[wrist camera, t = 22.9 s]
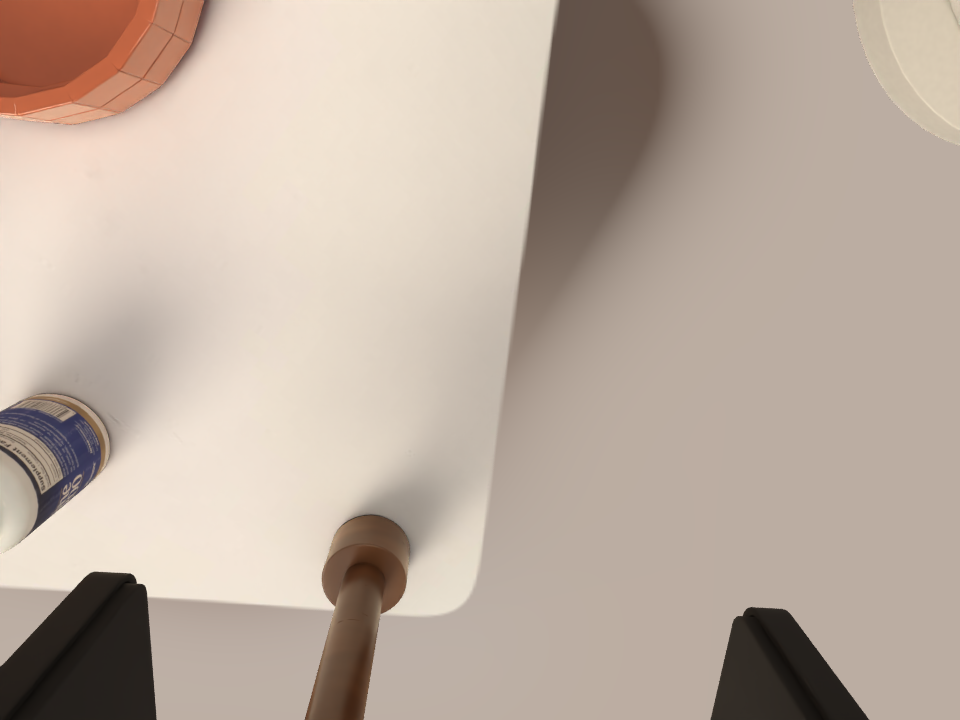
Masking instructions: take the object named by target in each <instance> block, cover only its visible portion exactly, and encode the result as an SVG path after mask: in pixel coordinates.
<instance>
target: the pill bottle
mask: <svg viewBox="0 0 960 720" xmlns="http://www.w3.org/2000/svg"><path fill="white" fill-rule="evenodd" d="M109 452H110V445H109V438H108V434H107V431H106V429H105V427H104V425H103V423H102V422H101V420H100V419H99V417H98V416H97V415H96V414H95V413H94V412H93V411H92V410H91V409H89V408H88V407H87V406H86V405H84V404H82V403H81V402H79V401H77V400H75V399H73V398H70V397H67V396H62V395H57V394H40V395H35V396H32V397H29V398H27V399H24V400H22V401H19V402H17V403H16V404H14V405H12V406H10V407H8V408H6V409H4V410H2V411H0V554H2V553H4V552H6V551H8V550H9V549H11V548H12V547H14V546H15V545H17V544H18V543H20V542H21V541H22V540H23V539H25V538H26V537H27V536H28V535H29V534H30V533H32V532H33V531H34V530H35V529H36V528H37V527H39V526H40V525H41V524H42V523H43V522H44V521H46V520H47V519H48V518H49V517H51V516H52V515H53V514H54V513H55V512H56V511H58V510H59V509H60V508H61V507H63V506H64V505H65V504H66V503H67V502H68V501H70V500H71V499H72V498H73V497H74V496H76V495H77V494H78V493H79V492H80V491H81V490H83V489H84V488H85V487H86V486H87V485H88V484H89V483H90V482H91V481H93V480H94V479H95V478H96V477H97V476H98V475H99V474H100V473H101V471H102V470H103V468H104V467H105V465H106V464H107V461H108V458H109Z"/></svg>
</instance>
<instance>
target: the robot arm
mask: <svg viewBox="0 0 960 720" xmlns="http://www.w3.org/2000/svg"><path fill="white" fill-rule="evenodd" d="M950 3H951V7H952V10H953V12H954V14H955V16H956V19H957V21H958V23H959V25H960V0H950ZM0 720H156V706H155V693H154V680H153V668H152V654H151V641H150V627H149V614H148V601H147V591H146V587H145V586H144V585H143V584H137V582H136V579H135V577H134V575H132V574H128V573H110V572H92V573H90V574H88V575H87V576H86V577H85V578H84V579H83V580H82V581H81V582H80V583H79V584H78V585H77V586H76V587H75V589H74V590H73V591H72V592H71V593H70V594H69V595H68V596H67V597H66V598H65V599H64V600H63V601H62V602H61V603H60V605H59V606H58V607H57V608H56V609H55V610H54V611H53V612H52V613H51V614H50V615H49V616H48V617H47V618H46V620H44V622H43V623H42V624H41V625H40V626H39V627H38V628H37V629H36V630H35V631H34V632H33V633H32V634H31V635H30V637H29V638H28V639H27V640H26V641H25V642H24V643H23V644H22V645H21V646H20V647H19V648H18V649H17V650H16V651H15V652H14V653H13V655H12V656H11V657H10V658H9V659H8V660H7V661H6V662H5V663H4V664H3V665H2V666H1V667H0ZM711 720H869V719H868V718H867V716H866V715H865V714H864V712H863V711H862V710H861V708H860V707H859V706H858V704H857V703H856V702H855V700H854V699H853V697H852V696H851V695H850V693H849V692H848V691H847V689H846V688H845V687H844V685H843V684H842V683H841V681H840V680H839V679H838V677H837V676H836V675H835V674H834V672H833V671H832V669H831V668H830V667H829V665H828V664H827V662H826V661H825V660H824V658H823V657H822V656H821V654H820V653H819V652H818V650H817V649H816V648H815V647H814V645H813V644H812V642H811V641H810V640H809V638H808V637H807V636H806V634H805V633H804V632H803V630H802V629H801V627H800V626H799V625H798V623H797V622H796V621H795V620H794V618H793V617H792V615H791V614H790V613H789V612H788V611H786V610H783V609H773V608H755V607H750V608H747V609H746V611H745V612H744V614H743V616H738V617H736V618H735V619H734V621H733V624H732V629H731V633H730V637H729V642H728V646H727V650H726V655H725V659H724V664H723V668H722V672H721V677H720V681H719V686H718V690H717V694H716V699H715V703H714V707H713V712H712V717H711Z"/></svg>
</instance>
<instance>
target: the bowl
mask: <svg viewBox="0 0 960 720" xmlns="http://www.w3.org/2000/svg"><path fill="white" fill-rule="evenodd" d="M203 3H204V0H0V117H5V118H12V119H18V120H26V121H37V122H47V123H57V124H68V125H72V124H79V123H83V122H87V121H91V120H95V119H100V118H104V117H108V116H112V115H116V114H119V113H121V112H124V111H125V110H127V109H128V108H130V107H131V106H133V105H134V104H136V103H137V102H139V101H140V100H142V99H143V98H145V97H146V96H148V95H149V94H151V93H152V92H153V91H155V90H156V89H158V88H159V87H161V85H163V84H164V82H165V81H166V80H167V78H168V77H169V75H170V74H171V73H172V71H173V70H174V68H175V67H176V66H177V64H178V63H179V61H180V60H181V59H182V57H183V56H184V54H185V53H186V51H187V50H188V49H189V47H190V46H191V44H190V43H192V41H193V38H194V35H195V31H196V28H197V24H198V21H199V17H200V14H201V10H202V7H203Z"/></svg>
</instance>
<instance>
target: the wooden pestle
mask: <svg viewBox="0 0 960 720" xmlns="http://www.w3.org/2000/svg"><path fill="white" fill-rule="evenodd" d="M409 555H410V547H409V542H408V539H407V536H406V535H405V533H404V532H403V530H402V529H401V528H400V527H399V526H398V525H397V524H395V523H394V522H393V521H391V520H389V519H387V518H384V517H380V516H375V515H366V516H360V517H356V518H354V519H352V520H350V521H348V522H346V523H345V524H344V525H342V526H341V527H340V528H339V530H338V531H337V532H336V534H335V536H334V538H333V541H332V544H331V547H330V550H329V554H328V557H327V560H326V563H325V566H324V569H323V572H322V586H323V589H324V592H325V594H326V596H327V598H328V599H329V601H330V602H331V603H332V604H333V605H334V606H335V610H334V613H333V617H332V621H331V624H330V628H329V632H328V636H327V640H326V643H325V647H324V651H323V654H322V658H321V662H320V665H319V669H318V673H317V676H316V680H315V684H314V688H313V692H312V695H311V699H310V702H309V706H308V710H307V713H306V717H305V720H363V719H364V713H365V706H366V700H367V694H368V688H369V682H370V675H371V669H372V663H373V656H374V650H375V644H376V637H377V632H378V625H379V619H380V614H382V613H384V612H386V611H388V610H390V609H391V608H392V607H394V606H395V605H396V604H397V603H398V602H399V600H400V599H401V598H402V596H403V594H404V591H405V588H406V583H407V573H408V564H409Z"/></svg>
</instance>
